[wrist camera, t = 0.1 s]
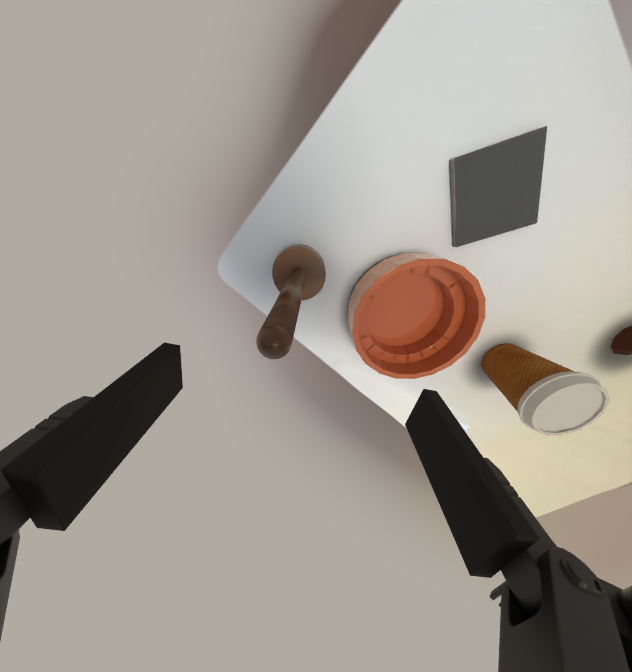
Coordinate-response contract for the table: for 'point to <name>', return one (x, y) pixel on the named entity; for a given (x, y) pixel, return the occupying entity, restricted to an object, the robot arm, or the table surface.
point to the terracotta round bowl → (415, 315)
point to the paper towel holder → (290, 297)
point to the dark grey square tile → (497, 187)
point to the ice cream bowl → (623, 342)
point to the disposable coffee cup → (545, 390)
